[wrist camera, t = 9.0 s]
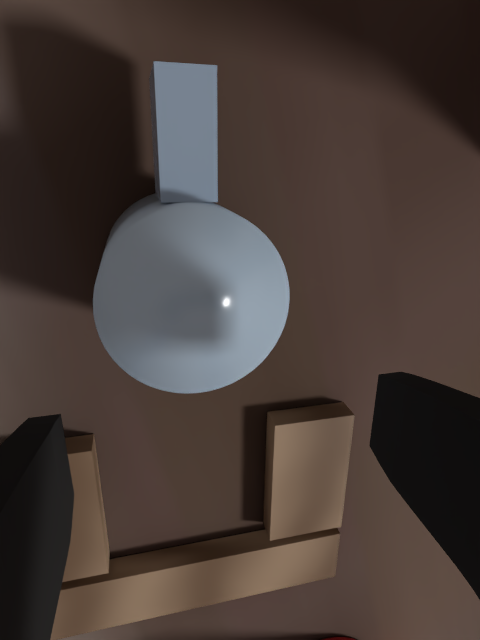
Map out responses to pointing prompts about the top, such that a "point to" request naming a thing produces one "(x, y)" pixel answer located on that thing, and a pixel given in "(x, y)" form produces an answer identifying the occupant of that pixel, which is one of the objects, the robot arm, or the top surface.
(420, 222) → the top surface
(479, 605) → the top surface
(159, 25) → the top surface
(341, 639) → the canned food
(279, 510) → the brown wooden panels
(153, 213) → the grey round flask
